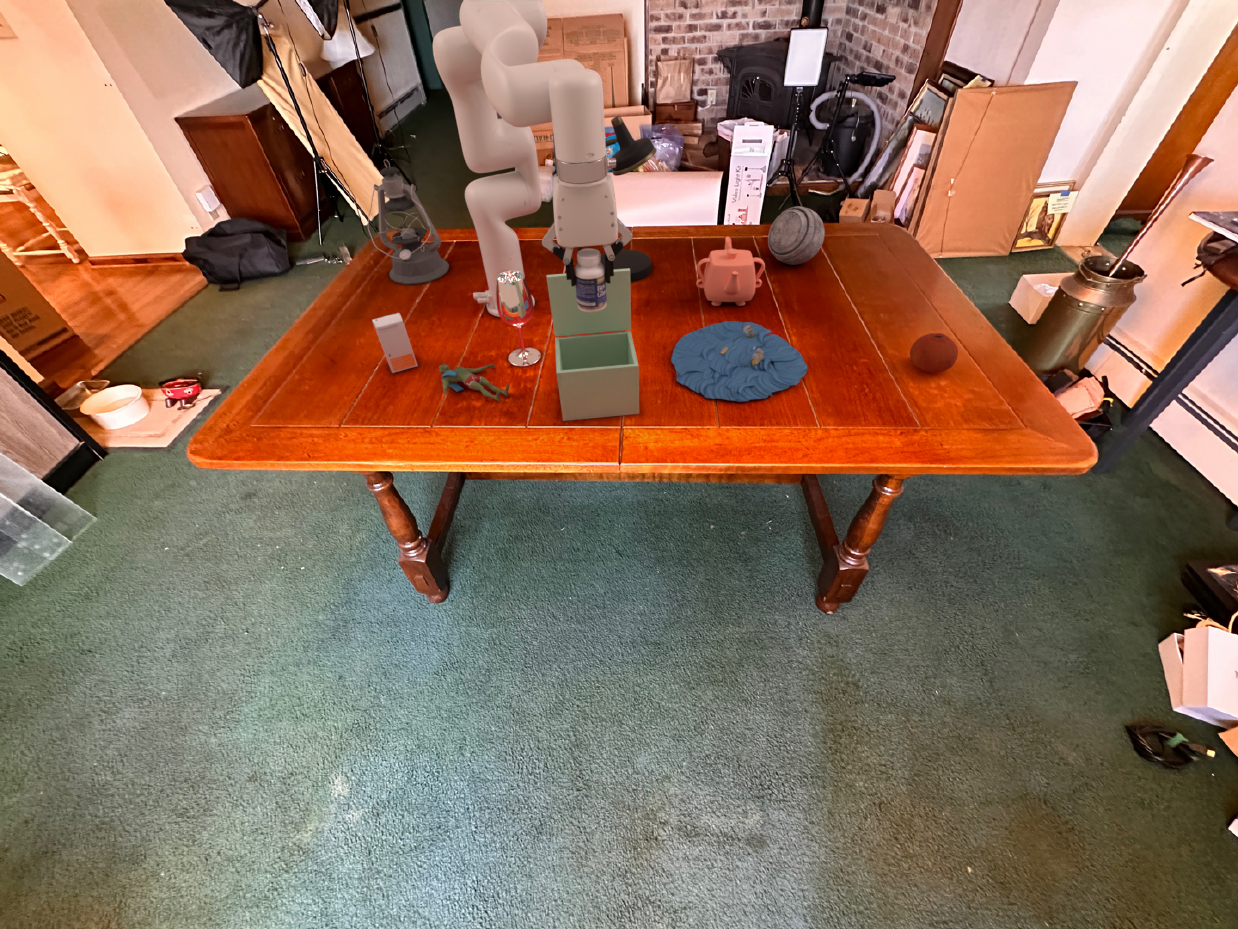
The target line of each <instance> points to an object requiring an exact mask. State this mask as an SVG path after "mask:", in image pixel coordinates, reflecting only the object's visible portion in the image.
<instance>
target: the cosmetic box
mask: <svg viewBox="0 0 1238 929" xmlns="http://www.w3.org/2000/svg"><path fill="white" fill-rule="evenodd" d="M371 321H372V324H373V327H374V330H375V332H376V335H377V338H378V340H379V342H380V345H381V348H382V350H383V353H384V356H385V359H386V361H387V363H388V366H389V369H390V371H391V373H392V374H395V373H398V372H399V373H400V372H402V371H406V370H409V369H412V368H413V369H414V368H417V367H419V365H418V362H417V360H416V356H415V353H414V350H413V347H412V343H411V341H410V338H409V335H408V331H407V329H406V325H405V322H404V320H403V318H402V315H401V313H400V312H397V313H392V314H388V315H384V316H381V317H377V318H374V319H372V320H371Z"/></svg>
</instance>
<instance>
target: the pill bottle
mask: <svg viewBox="0 0 1238 929" xmlns="http://www.w3.org/2000/svg"><path fill="white" fill-rule="evenodd" d="M600 255H601V252H600V250H599V249H597V248H583V249H582V250H580V251H579V252H578V251H577V253H576V262H577V264H576V265H574V274H575V286H576V297H577V306H578V308H579V309H580V310H581V311H584V312H598V311H601V310H603V309H604V308H605V307H606V305H607V294H606V274H605V267H604V265H603V264H602V263H601V262H600V261H601V256H600Z"/></svg>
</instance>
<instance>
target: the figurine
mask: <svg viewBox="0 0 1238 929" xmlns="http://www.w3.org/2000/svg"><path fill="white" fill-rule="evenodd" d="M496 367H497V365H494V363H490V364H488V365H485V366H481V367H477V368H471V367H464V366H457V367H455V368H453V369H450V365H448V364H446V363H442V364H440V365H439V367H438V369H439V372H438V374H440V373H441V374H442V375H441V383H442V391H443V394H444V395H447V391H448V388H449V387H450V388H451V389H452V390H453V391H455V392H456V393H458V392H461V391H464V390H465V388H464V387H462V386H461V385H460V384H458V383H461V382H462V383H463V385H464V386H466V387H467V388H468V389H470V390H473V391H479V392H480V393H481V394H482V395H483V397H485V398H490V399H493V400H495V401H497V402H501V395H500V394H502V395H504V396H505V397H509V392H510V384H506V385H505V388H504V390H503V389H500V388H499V387H498V386H496V385H493V384H492V382H490V381H489V380H488V379H487V378H486V377H485V376H481V375H476V374H479V373H481V372H483V371H485V370H486V369H492V368H493V369H494V368H496ZM485 387H487V388H489V390H490V391H491V392H493V393H495V395H494V394H492V393H491V392H489V391H488V390H486V389H485Z"/></svg>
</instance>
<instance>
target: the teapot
mask: <svg viewBox="0 0 1238 929" xmlns="http://www.w3.org/2000/svg"><path fill="white" fill-rule="evenodd" d="M724 243H725V244H724V249H716V250H715V249H714V250H711V251H710V253H709V255H708V257H705V258H704V257H703V259H700V260H699V261H698V262H697V265H696V271H697V274H698V276H699V278H698V279H697V280H696V283H695V285H696V287H697V288H698V289H703V290H704V291H703V292H704V296H705V298H706V300H707V301H710V302H711V305H712V306H715V307H719V306H721V305H722V303H735V305H736V306H740V307H741V306H745V305H746V302H749V301H751V300H753V297H754V296H755V293H756V289H758V288H760V287H761V286H762V284H763V281H762V280H761V279H760V278H761V276H762V274H763V273H764V271H765V268H766V263H765V262H764V260H763V259H762V258H760V257H754V256H753V253H752V252H751V251H750V250H747V249H736V248H733V246H732V239H731V237H730V236H725V240H724ZM755 263H758V264H760V265H761V266H760V268H759V270H758V272H757V273H756V269H755V268H756V267H755ZM704 264H705V267H704V272H702V269H701V267H702V265H704Z"/></svg>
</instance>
